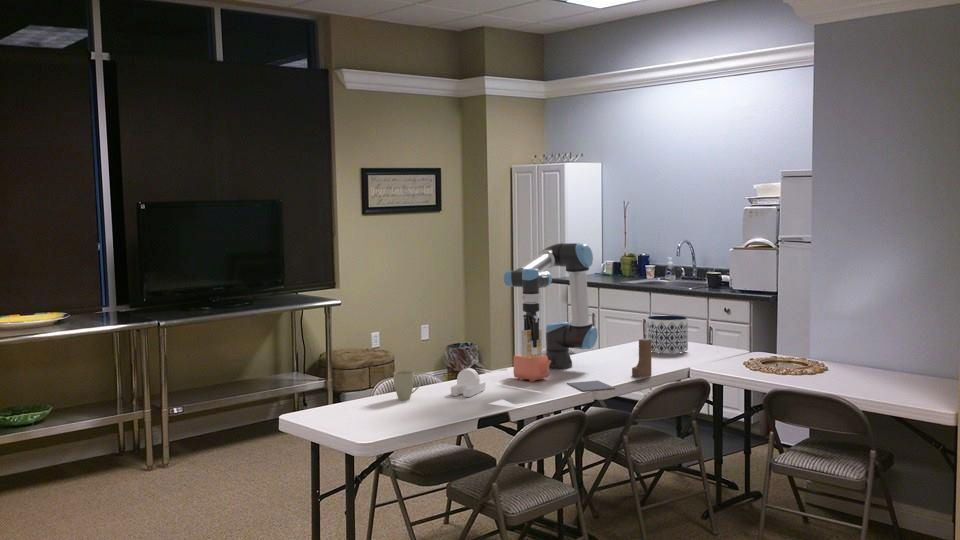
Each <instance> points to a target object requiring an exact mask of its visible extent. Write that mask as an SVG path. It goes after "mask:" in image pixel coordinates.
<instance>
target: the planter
mask: <svg viewBox="0 0 960 540" xmlns="http://www.w3.org/2000/svg"><path fill="white" fill-rule="evenodd" d="M688 319H689V317H687V316H683V315H673V314H672V315H670V314H669V315H668V314H664V315H662V314H661V315H659V314H658V315H650V316H647V319H646V321H647V324H646V325H647V326H646V329H647V331H646V332H647V335H646V339H650V340H651V351H653V352H659V353H680V352H685V351H687V350H688V351H689V347H688V346H689V341H688V340H689V327H688V325H689V320H688ZM653 352H652V353H653ZM659 353H658V354H659Z"/></svg>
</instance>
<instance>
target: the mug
mask: <svg viewBox="0 0 960 540" xmlns="http://www.w3.org/2000/svg"><path fill="white" fill-rule="evenodd" d="M417 377H419V383H418V386H417V387H416V388H415V389H413V388H414V382H415V381H414V380H415V378H417ZM422 381H423V380H422V376H420V375H419V374H415V371H412V370H398V371H394V372H393V383H394V388H395V392H396V397H397V399H398V400H399V401H409V400H410V399H411V396H412V394H414V393H415V392H416V391H417V390H418V389H419V388H420V387H421V385H422Z"/></svg>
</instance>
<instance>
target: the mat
mask: <svg viewBox="0 0 960 540" xmlns="http://www.w3.org/2000/svg"><path fill="white" fill-rule="evenodd" d="M566 384H567V385H569V386H570V387H572V388H574V389H576V390H579V391H580V392H583V393H584V392H596V391H606V390H607V391H608V390H616V387H614V386H612V385H609V384H608V383H605V382H602V381H600V380H590V381H589V380H588V381H575V382H567V383H566Z"/></svg>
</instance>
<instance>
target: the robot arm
mask: <svg viewBox="0 0 960 540" xmlns="http://www.w3.org/2000/svg"><path fill="white" fill-rule="evenodd" d="M593 260H594V256H593V251H592V249H591V247H590V246H589V244H586V243H580V242H577V243H575V242H574V243H571V242H569V243H567V242H566V243H564V242H561V243H560V242H559V243H555V244H553V245H550V246H547V247H546V248H544V249H542V250H540V252H539V253H537V255H536V256H535V257H533V258H532V259H531V260H529V261H527V262H526V263H524V264H523V265H521V266H519V268H517V269H515V270H512V269H511V270H506V272H505V273H504V274H503V283H504V285H505V286H507V287H511V288H514V287H515V288H522V296H521V298H522V311H523V312H524V313H525V314H523V316H522V317H523V330H531V337H532V339H530V340H531V355H536V354H537V340H538V339H539V330H540V317H538V316H537V313H538V312H539V311H540V303H539V302H540V289H541V288H547V287H548V286H550V285H551V284H552V282H553V281H552V280H553V277H552V274H551V273H550V272H549V271H547V270H546V269H550V268H554V267H564V268H565V272H566V273H567V274H568V276H569V278H568V279H569V289H570V291H569V292H570V305H571V306H570V308H571V310H570V311H571V320H570V322H568V321H560V322H551V323H549V324H547V325H546V327H545V340H546V341H545V348H546V352H545V355H546V356H547V357H548V360H551V363H550V365H549V370H567V369H568V370H569V369H572V368H573V361H572V359H571V355H570V349H576V350H577V349H578V350H579V349H580V350H592V348H594V347H595V344H596V343H597V339H598V329H597V327H596V326H595V325H594V326H593V321H592V320H591V319H590V311H589V310H590V309H589V296H588V281H587V280H588V279H587V273H588V272H589V271H590V268H591V266H592V265H593Z"/></svg>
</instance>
